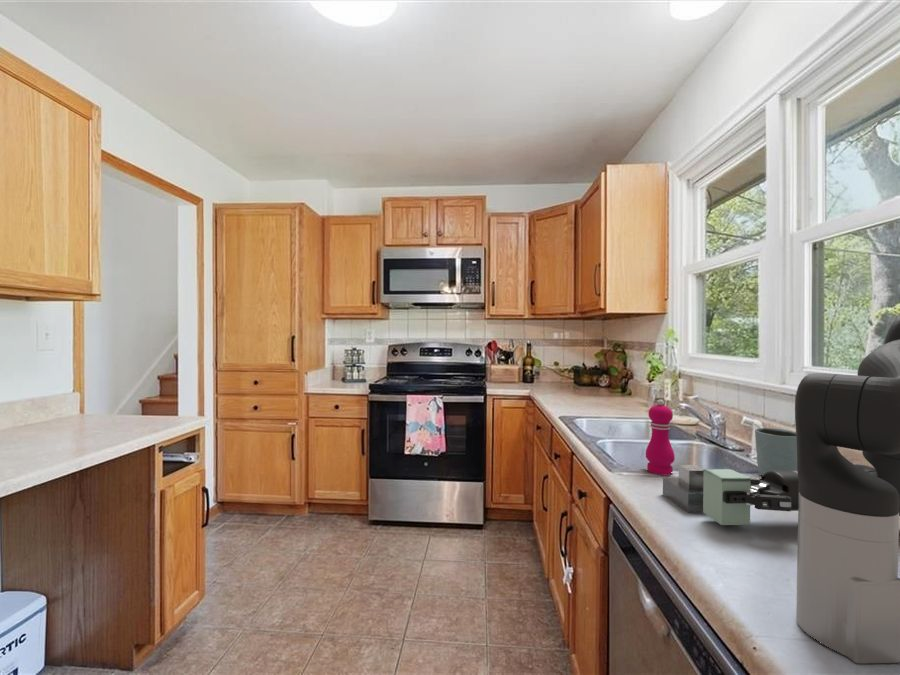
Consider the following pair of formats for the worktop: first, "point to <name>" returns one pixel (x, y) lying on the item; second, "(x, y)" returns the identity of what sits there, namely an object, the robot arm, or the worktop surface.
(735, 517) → the tall mint pillar
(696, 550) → the worktop surface
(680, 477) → the grey step block
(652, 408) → the pepper mill
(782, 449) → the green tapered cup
